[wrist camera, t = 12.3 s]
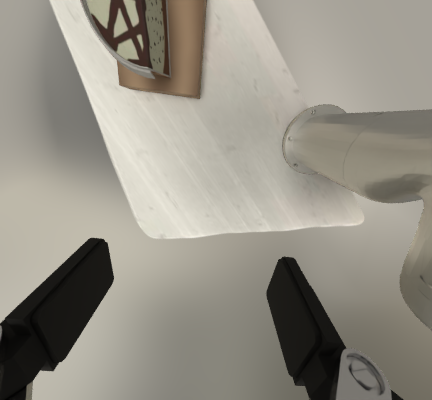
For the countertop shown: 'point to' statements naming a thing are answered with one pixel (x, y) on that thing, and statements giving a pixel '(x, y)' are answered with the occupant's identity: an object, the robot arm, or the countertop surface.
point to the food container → (133, 33)
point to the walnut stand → (177, 53)
